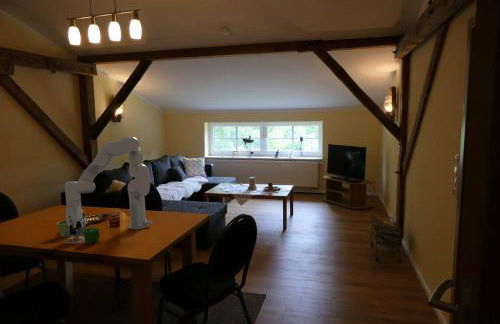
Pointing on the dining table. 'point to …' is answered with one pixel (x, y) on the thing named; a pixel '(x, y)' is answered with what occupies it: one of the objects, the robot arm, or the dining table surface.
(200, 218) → the dining table surface
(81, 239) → the keeper
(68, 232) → the dark grey rectangular frame
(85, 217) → the spread jar
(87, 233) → the bell pepper
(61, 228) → the plant pot
